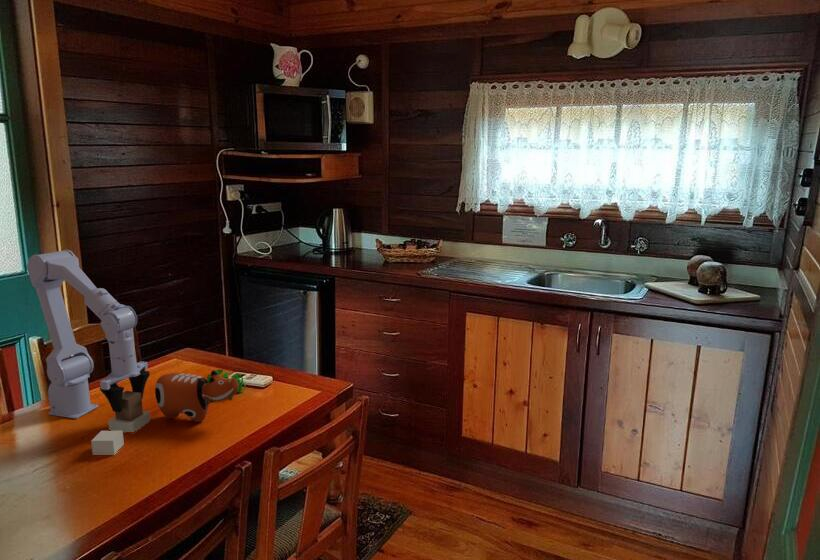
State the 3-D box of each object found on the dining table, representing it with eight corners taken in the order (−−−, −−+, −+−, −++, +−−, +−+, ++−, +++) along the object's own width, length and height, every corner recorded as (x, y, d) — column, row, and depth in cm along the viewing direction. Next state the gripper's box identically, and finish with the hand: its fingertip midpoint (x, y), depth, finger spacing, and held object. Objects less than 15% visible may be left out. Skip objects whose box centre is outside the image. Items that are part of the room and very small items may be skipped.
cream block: (93, 456, 136) (91, 440, 135) (103, 445, 141) (101, 430, 140) (114, 456, 136) (113, 440, 136) (124, 445, 141) (122, 430, 140)
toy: (230, 435, 147) (226, 379, 143) (149, 425, 151) (144, 371, 148) (249, 418, 156) (246, 365, 153) (172, 409, 161) (168, 358, 158)
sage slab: (109, 432, 148) (108, 421, 148) (126, 419, 155) (125, 409, 154) (134, 434, 147) (132, 423, 147) (150, 422, 154) (149, 411, 153)
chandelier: (256, 393, 172) (254, 371, 171) (208, 408, 162) (206, 385, 160) (230, 379, 183) (229, 358, 181) (184, 392, 172) (182, 370, 171)
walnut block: (115, 419, 149) (113, 397, 148) (128, 411, 153) (126, 390, 152) (130, 421, 148) (128, 399, 146) (143, 414, 152) (140, 392, 151)
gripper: (115, 366, 139) (120, 419, 142) (155, 347, 153) (159, 395, 156) (90, 363, 141) (96, 415, 144) (132, 344, 154) (137, 392, 157)
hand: (128, 404), depth 150 cm, fingers open, 7 cm apart
